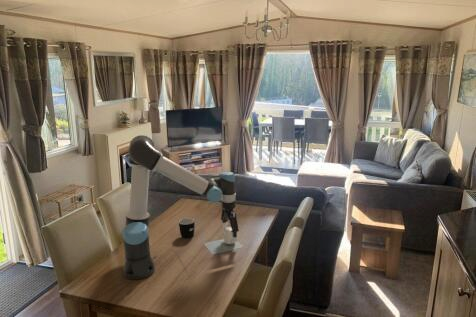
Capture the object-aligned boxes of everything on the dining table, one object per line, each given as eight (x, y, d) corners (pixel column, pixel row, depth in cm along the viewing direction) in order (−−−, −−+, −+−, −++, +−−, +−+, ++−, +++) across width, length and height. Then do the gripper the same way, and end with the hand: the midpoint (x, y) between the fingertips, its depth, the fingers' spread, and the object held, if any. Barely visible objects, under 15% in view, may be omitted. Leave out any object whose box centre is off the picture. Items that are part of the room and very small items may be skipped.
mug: (190, 241, 205) (189, 225, 203) (176, 239, 209) (175, 223, 207) (200, 233, 216) (199, 217, 214) (187, 230, 220) (186, 215, 217)
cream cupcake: (234, 243, 196) (234, 231, 194) (223, 243, 197) (223, 231, 195) (235, 238, 202) (235, 227, 200) (225, 238, 202) (224, 226, 201)
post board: (212, 256, 188) (211, 242, 186) (203, 245, 201) (203, 231, 199) (243, 249, 196) (243, 235, 194) (233, 238, 208) (232, 225, 206)
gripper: (244, 206, 184) (245, 245, 189) (226, 192, 205) (227, 227, 211) (230, 209, 181) (232, 248, 186) (214, 194, 203) (215, 230, 208)
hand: (229, 237), depth 199 cm, fingers open, 12 cm apart
